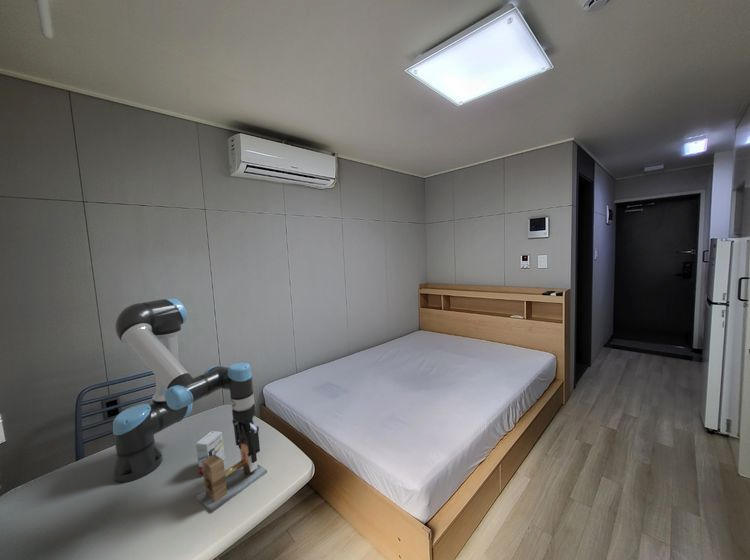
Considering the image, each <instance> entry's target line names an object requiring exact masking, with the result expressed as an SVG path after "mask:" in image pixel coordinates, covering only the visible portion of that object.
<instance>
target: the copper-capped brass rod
mask: <svg viewBox="0 0 750 560" xmlns="http://www.w3.org/2000/svg"><path fill="white" fill-rule="evenodd" d="M241 453H242V460H241V459H240V460H239V461H238V462H237V463H235V464H234V465H231V466H230V467H229V468H227V469H226V470H225V469H224V471H225V478H226V477H227V476H229V475H230V474H232V473H233V472H235V471H236V470H238V469H239V468H241V467H242V466H243V472H244V474H251V473H253V472H254V471H255V470H256V469H255V470H253V471H252V472H250V469H249V460H248V454H249V450H248V445H247V441H246V440H245V441H243V442H242V443H241ZM241 453H240V454H241Z"/></svg>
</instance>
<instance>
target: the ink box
mask: <svg viewBox="0 0 750 560" xmlns="http://www.w3.org/2000/svg"><path fill="white" fill-rule="evenodd" d="M195 445H196V446H195V447H196V454H197V465H198V473H199V474H203V465H202V461H203V460H205V459H206V458H208V457H210V456H212V455H213V454H215V455H216V456H218V457H219V458H221V459H222V460H223V462H224V461H225V460H226V457H225V455H226V454H225V449H224V448H225V447H224V446H225V445H224V437H223V432H222V431H216V430H211V431H210V432H208V433H207V434H206V435H204V436H203V437H202V438H201V439H199V440H197V442H196V444H195Z"/></svg>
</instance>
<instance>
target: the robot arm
mask: <svg viewBox="0 0 750 560" xmlns="http://www.w3.org/2000/svg"><path fill="white" fill-rule="evenodd" d="M187 313H188V312H187V309H186V307H185V306H184V304H183V303H182V302H181V301H180V300H179V299H176V298H162V299H156V300H151V301H145V302H138V303H133V304H131V305H129V306H127V307H125V308H124V309H122V311H120V313H118V316H117V318H116V321H115V327H114V328H115V333H116V336H117V337H118V339H119V340H120V341H121V343H122V344H124V345H125V346H129V347H130V348H131V349H132V350H133V351H134V352H135V354H137V356H138V357H139V358H140V359H141V361H142V362H143V363H144V364H145V365H146V367H148V369H149V370H150V371H151V372H152V373H153V375H154V378H155V393H154V394H153V395H152V398H151V399H152V402H151V404H148V403H140V404H137V405H133V406H131V407H128V408H125V409H124V410H122V411H121V412H119V414H117V415H116V416H115V417H114V419H113V421H112V434H113V438H114V444H115V451H116V460H115V464H114V467H113V472H112V473H113V480H114V481H115V482H117V483H127V482H132V481H134V480H138V479H140V478H143V477H145V476H146V475H149V474H150V473H152V472H153V471H155V470H156V469H157V468H158V467H160V465H161V464H162V463H163V459H164V458H163V453H162V451H161V449H160V447H159V446H158V445H157V443H156V440H155V435H156V434H157V433H160V432H161V431H163V430H166V429H167V428H169V427H171V426H173V425H175V424H176V423H180V422H182V420H184V419H186V418H187V417H188V416H189V415H190V414H191V412H192V409H193V405H194V404H193V403H195V402H197V401H199V400H201V399H203V398H205V397H208V396H209V395H212V394H213V393H216V392H217V391H220V390H227V391H229V393H230V394H229V395H230V406H231V412H232V413H231V414H232V420H231V421H232V424H233V431H234V432H233V433H234V439H235V446H238V449H239V452H240V461H241V460H242V453H241V443H242V442H243V441H245V440H246V441H247V445H248V450H249V454H248V460H249V469H250V472H252V471H253V470H255V469H256V468H258V466H257V464H258V458H257V457H258V456H257V454H258V453H260V452H261V446H260V445H261V444H260V437H259V430H260V428H259V426H255V424H254V420H253V418H254V417H255V415H256V406H255V396H254V394H255V393H254V385H253V373H252V368H251V364H249V363H248V362H236V363H233V364H231V365H229V366H228V367H227V366H221V365H214V366H210V367H208V368H207V369H206V370H205V371H204V373H203V374H200V375H197V376H195V377H193V376H192V375H191V374H190V373H189V372H188V371H187V369H186V368H185V366H183V365H182V364H181V363H180V356H179V345H178V344H179V342H178V334H179V333H180V332H181V331H182V325H183V324H185V323H186V321H187V319H188V316H187V315H188V314H187ZM242 467H243V466H242Z"/></svg>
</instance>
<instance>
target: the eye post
mask: <svg viewBox="0 0 750 560" xmlns="http://www.w3.org/2000/svg"><path fill="white" fill-rule="evenodd" d="M202 465H203V473H202V474H203V480H204V482H203V483H204V489H205V490H204V491H203V492H202V493H201V492H200V493H199V494H198V495H197V496H196V500H198V501H199V502H200V503H201V504H202V505H203V506H205V507H206V508H207V510H209V511H210V512H211V513H213V512H215V511H216V510H217V509H219V508H220V507H222V506H223V505H224V504H226V503H227V502H228V501H230V500H232V499H233V498H234V497H235V496H237V495H239V494H240V493H241V492H242V491H244V490H245V489H247V488H248V487H249V486H251V485H252V484H254V483H255V482H256V481H257V480H259V479H260V478H261V477H264V476H265V475H266V474H267V473H268V470H267V468H264V467H263V466H262V465H260V464H258V463H257V466H258V468H256V470H255V471H254V472H253V473H251V474H244V472H243V467H241V468H239V469H238V470H236V471H235V472H233V473H232V474H230V475H229V476H227V477H226V478H225V464H224V461H223V460H222V459H221V458H219V457H218V456H216V455H215V454H213V455H212V456H210V457H208V458H206V459H205V460H203V461H202Z"/></svg>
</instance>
